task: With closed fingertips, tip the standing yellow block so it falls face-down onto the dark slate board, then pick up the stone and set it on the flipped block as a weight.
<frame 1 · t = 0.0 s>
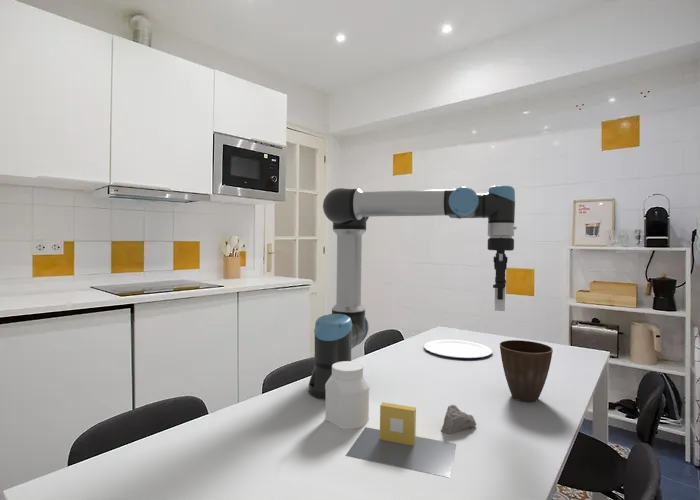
hand: (499, 307, 120), 28 cm above the table, fingers open, 13 cm apart
jar: (346, 423, 103), on the table
plate: (457, 351, 174), on the table
stone: (455, 432, 99), on the table
slate board: (402, 454, 88), on the table
yellow block: (397, 440, 92), point 1 cm above the table, touching slate board
plant pot: (524, 398, 121), on the table
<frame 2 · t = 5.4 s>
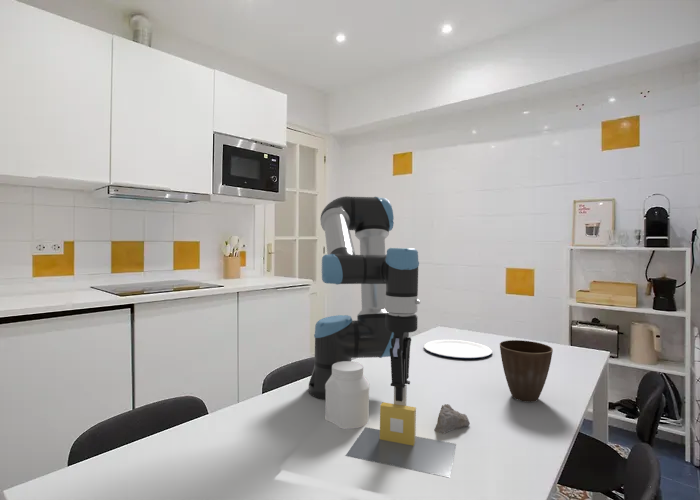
hand: (400, 412, 93), 7 cm above the table, fingers closed
stone: (448, 431, 100), on the table
yellow block: (397, 440, 92), point 1 cm above the table, touching gripper, slate board
everything else where it was.
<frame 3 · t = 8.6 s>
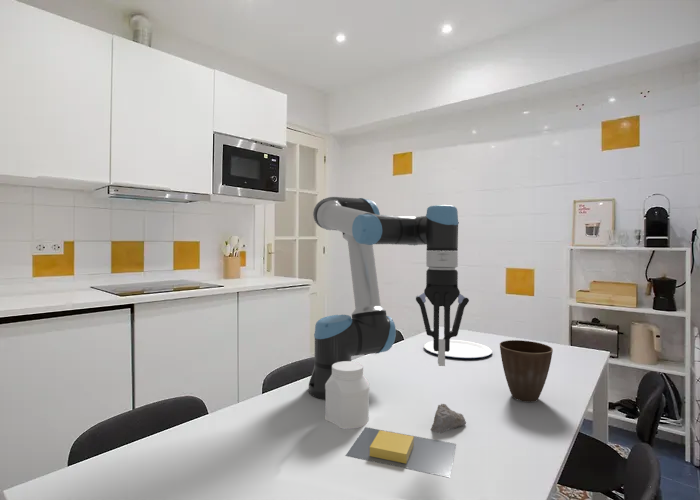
hand: (441, 364, 97), 17 cm above the table, fingers closed
yellow block: (396, 437, 91), point 2 cm above the table, tilted 90°, touching slate board
everything else where it was.
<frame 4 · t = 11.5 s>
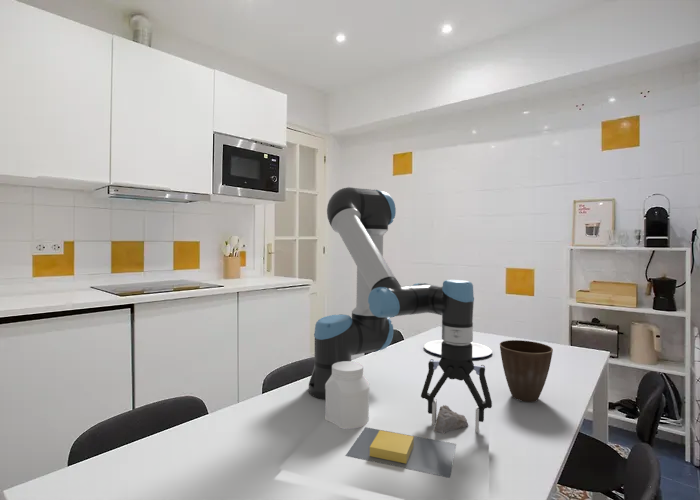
hand: (455, 429, 99), 0 cm above the table, fingers open, 10 cm apart
stone: (447, 432, 100), on the table, touching gripper
everything else where it was.
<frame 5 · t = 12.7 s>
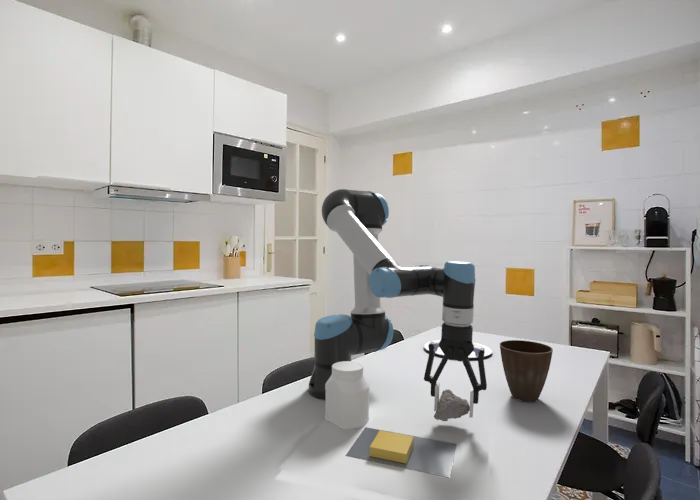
hand: (453, 411, 100), 5 cm above the table, fingers closed on stone, 8 cm apart
stone: (449, 416, 100), point 4 cm above the table, touching gripper
everything else where it was.
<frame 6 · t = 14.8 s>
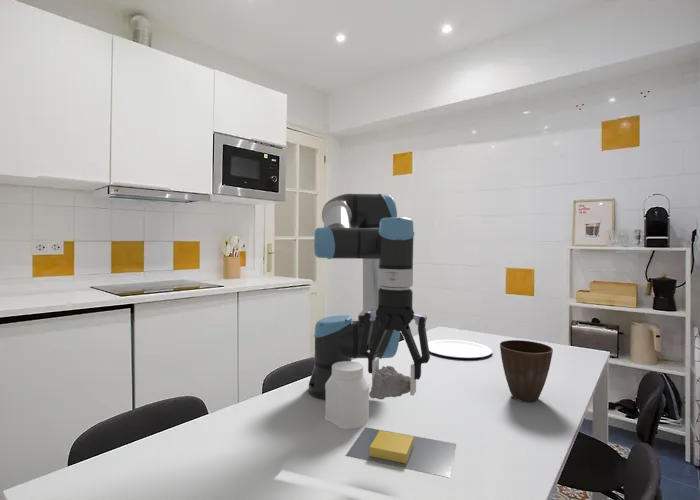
hand: (393, 390, 87), 15 cm above the table, fingers closed on stone, 8 cm apart
stone: (388, 395, 87), point 14 cm above the table, touching gripper
everything else where it was.
when the fingers open (5 cm above the table, at t = 16.9 s): stone stays where it is, resting on yellow block.
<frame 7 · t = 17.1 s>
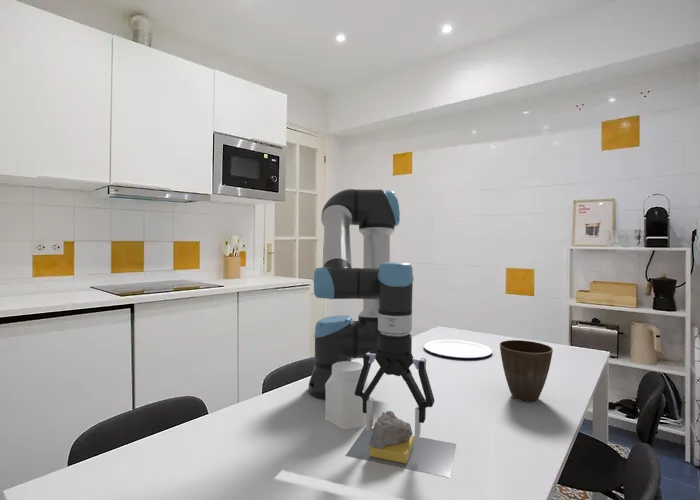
hand: (393, 431, 87), 5 cm above the table, fingers open, 10 cm apart
stone: (388, 442, 87), point 3 cm above the table, touching yellow block
yellow block: (396, 437, 91), point 2 cm above the table, tilted 90°, touching stone
everything else where it was.
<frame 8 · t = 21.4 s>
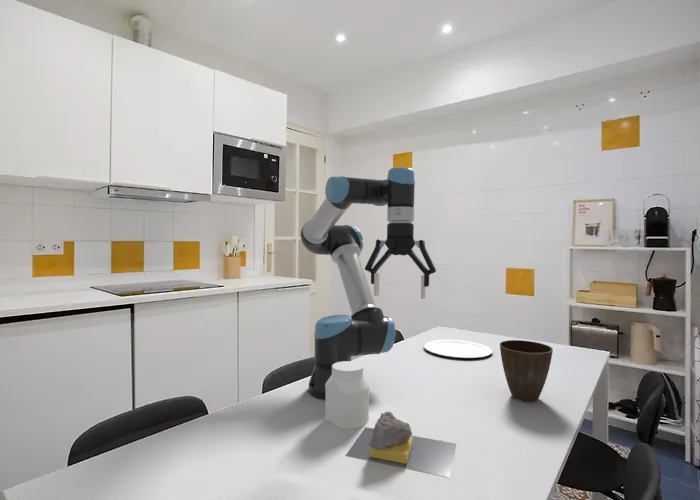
hand: (399, 296, 113), 32 cm above the table, fingers open, 13 cm apart
yellow block: (395, 438, 90), point 2 cm above the table, tilted 90°, touching slate board, stone
everything else where it was.
at the end: yellow block tilted 90°; yellow block inside the target area (3.0 cm from its centre), point 2.4 cm above the table; stone 4.4 cm from the yellow block (horizontally) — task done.
